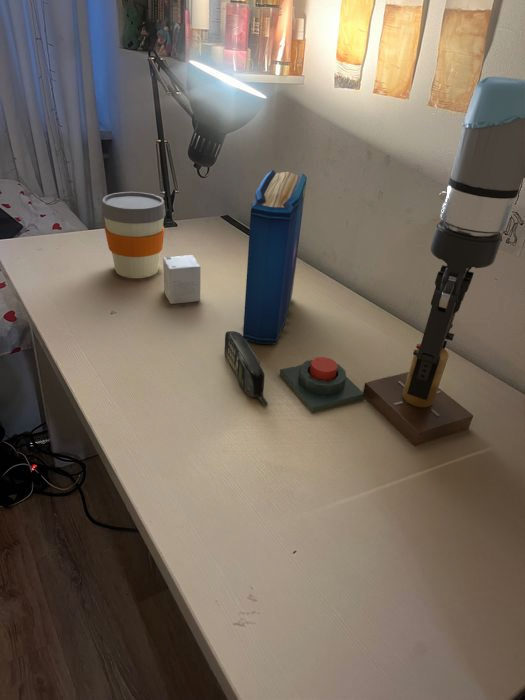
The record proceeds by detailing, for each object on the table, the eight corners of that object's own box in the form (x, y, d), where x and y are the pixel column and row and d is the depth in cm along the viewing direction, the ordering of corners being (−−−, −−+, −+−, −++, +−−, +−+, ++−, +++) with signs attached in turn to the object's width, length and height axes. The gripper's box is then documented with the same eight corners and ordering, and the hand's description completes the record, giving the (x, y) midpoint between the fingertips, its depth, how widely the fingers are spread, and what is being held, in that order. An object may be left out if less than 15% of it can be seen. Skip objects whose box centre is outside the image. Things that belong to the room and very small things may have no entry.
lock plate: (412, 382, 81) (416, 368, 79) (468, 429, 72) (474, 414, 70) (361, 395, 77) (365, 381, 75) (414, 446, 68) (419, 431, 66)
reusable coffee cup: (96, 265, 109) (89, 195, 101) (147, 254, 117) (144, 188, 109) (125, 286, 102) (120, 213, 94) (178, 273, 109) (177, 204, 101)
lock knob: (435, 395, 74) (451, 346, 70) (430, 411, 70) (446, 361, 66) (405, 385, 75) (419, 337, 71) (399, 401, 72) (413, 351, 68)
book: (278, 352, 85) (295, 204, 72) (237, 346, 86) (246, 198, 73) (292, 298, 103) (307, 172, 90) (258, 293, 104) (268, 167, 91)
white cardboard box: (200, 301, 99) (201, 266, 95) (169, 304, 97) (169, 268, 93) (192, 288, 103) (193, 254, 100) (163, 291, 101) (162, 256, 97)
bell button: (326, 364, 78) (328, 354, 77) (340, 378, 75) (342, 368, 75) (304, 369, 77) (306, 359, 76) (318, 383, 74) (320, 373, 73)
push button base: (327, 365, 83) (330, 349, 81) (363, 400, 76) (367, 384, 74) (279, 375, 79) (281, 359, 78) (311, 413, 72) (314, 396, 70)
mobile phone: (222, 329, 81) (254, 380, 69) (239, 327, 82) (275, 377, 70) (221, 355, 83) (252, 409, 71) (238, 353, 84) (272, 405, 72)
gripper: (450, 203, 68) (409, 351, 80) (423, 238, 54) (378, 409, 66) (509, 215, 65) (457, 366, 77) (496, 255, 51) (436, 430, 64)
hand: (421, 386), depth 72 cm, fingers closed on lock knob, 4 cm apart
